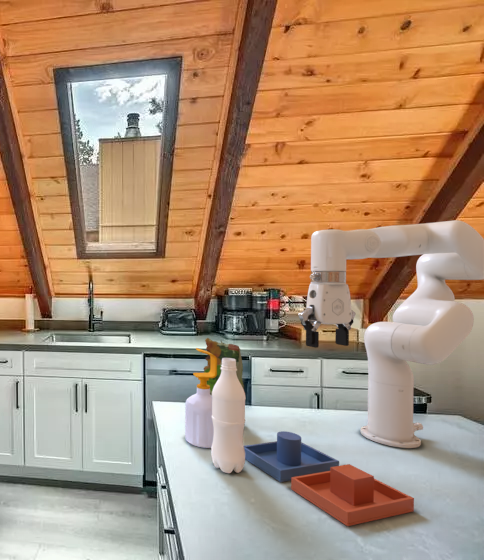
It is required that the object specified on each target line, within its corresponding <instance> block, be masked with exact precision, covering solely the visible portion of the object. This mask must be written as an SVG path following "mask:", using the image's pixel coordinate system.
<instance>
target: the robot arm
mask: <svg viewBox="0 0 484 560" xmlns="http://www.w3.org/2000/svg"><path fill="white" fill-rule="evenodd" d="M310 237H311V238H310V275H309V279H310V283H309V286H308V290H307V296H306V307H305V309H304V310H302V311H300V312H299V313H298V318H299V321H300V324H301V326H302V327H303V330H304V331H305V346H306V347H311V348H315V349H317V348H319V344H320V342H319V341H320V332H319V331H318V329H319V328H320V326H321V324H323V325H335V326H336V328H335V335H334V336H335V339H334V341H335V342H334V343H335V344H336V345H338V346H339V345H340V346H344V347H348V346H350V330H351V329H352V325H353V324H354V320H355V317H356V312H355V311H354V310H352V299H351V291H350V287H349V284H348V283H347V260H364V259H368V258H369V259H370V258H371V259H384V258H387V259H388V258H399V257H400V258H401V257H408V256H409V257H410V256H419V258H418V259H417V261H416V264H415V270H416V281H417V286H416V289H414V292H412V293H411V294H410V295H409V296H408V297H407V298H406V299H405V300H404V301H402V303H400V304H399V306H398V307H397V308H396V309H395V311H394V312H393V314H392V321H377V322H374V323H372V324H370V325H368V326H367V328H366V329H365V331H364V333H363V341H364V347H365V351H366V356H367V369H368V370H367V371H368V373H367V374H368V375H367V376H368V377H367V425H364V426H361V427H360V434H361V435H362V436H363V437H364V438H366V439H368V440H371V441H373V442H375V443H379V444H382V445H385V446H389V447H393V448H401V449H417V448H419V447H420V446H421V445H422V441H421V438H419V437H418V436H416V435H415V432H416V431H422V430H424V426H423V424H422V423H421V422H414V387H415V377H414V373H413V370H412V368H411V366H410V364H409V363H408V362H410V363H411V362H412V363H416V364H422V365H427V366H428V365H430V366H431V365H432V366H433V365H438V364H441V363H442V362H444V361H445V360H446V359H447V358H449V356H450V355H451V354H453V352H454V351H455V350H456V349H457V348H458V347H459V346H460V345H461V344H462V343H463V342H464V341H465V340H466V339H467V337H468V336H469V335H470V333H471V332H472V329H473V326H474V322H475V321H474V320H475V318H474V317H475V316H474V314H473V311H472V310H471V308H470V307H469V306H468V305H466V304H464V303H462V302H459V301H456V299H455V294H454V293H453V291H452V289H451V288H450V287H449V285H447V282H446V281H447V280H450V281H451V280H455V281H456V280H457V281H479V280H480V281H482V280H484V237H483V236H482V235H481V234H480V233H479V232H478V231H477V230H476V229H475V228H474V227H473V226H471V225H470V224H469V223H467V222H465V221H463V220H458V219H456V220H455V219H454V220H447V221H446V220H444V221H436V222H435V221H434V222H426V223H414V224H399V225H397V224H395V225H386V226H378V227H373V228H368V229H367V228H366V229H365V228H364V229H363V228H362V229H350V230H342V229H335V228H334V229H320V230H316V231H314V232H313V233H312V234H311V236H310ZM420 255H421V256H420Z"/></svg>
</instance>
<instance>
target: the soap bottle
mask: <svg viewBox="0 0 484 560" xmlns="http://www.w3.org/2000/svg"><path fill="white" fill-rule="evenodd" d="M195 350H196V351H197V352H199V353H202V354H205V355H207V354H208V355H210V358H211V362H210V372H209V373H204V372H193V373H192V374H193V376H194V377H195V378H196V379H197V380H199V383H197V384H196V393H194V394H192V395H190V396H189V397H187V399H186V400H185V403H184V404H185V407H184V408H185V409H184V410H185V411H184V412H185V415H184V420H185V421H184V433H185V434H184V439H185V441H186V442H187V443H188V444H189V445H192V446H195V447H197V448H204V449H211V447H212V443H213V436H214V427H213V421H212V396H211V395H210V386H209V385H207V381H208V380H209V378H215V377H216V375H217V358H216V356H214V355H213V354H211V353H210V352H208V351H207V350H206V349H201V348H198V347H196V348H195ZM208 355H207V356H208Z"/></svg>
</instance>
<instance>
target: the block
mask: <svg viewBox="0 0 484 560" xmlns="http://www.w3.org/2000/svg"><path fill="white" fill-rule="evenodd" d="M374 479H375V476H374V475H372V474H370V473H369V472H366V471H364V470H362V469H361V468H358V467H356V466H354V465H352V464H350V463H347V464H341V465H339V466H335V467H330V492H332V493H333V494H335V495H337V496H338V497H340V498H342V499H343V500H345V501H347V502H348V503H350V504H352V505H354V506H355V505H360V504H365V503H370V502H373V501H374Z"/></svg>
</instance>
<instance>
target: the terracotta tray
mask: <svg viewBox="0 0 484 560" xmlns="http://www.w3.org/2000/svg"><path fill="white" fill-rule="evenodd" d="M290 481H291V483H290V490H292V491H293V492H295V493H296V494H298V495H299V496H301V497H302V498H303V499H305V500H306V501H309V502H310V503H311V504H313V505H314V506H316V507H317V508H319V509H320V510H322V511H323V512H324V513H327V514H328V515H330V516H331V517H333V518H334V519H335V520H337V521H338V522H340V523H342V524H343V525H345V526H346V527H350V526H355V525H360V524H364V523H368V522H369V523H370V522H373V521H377V520H382V519H386V518H390V517H395V516H399V515H403V514H409V513H412V512H414V511H415V498H414V497H412V496H411V495H409V494H406V493H405V492H402V491H401V490H398V489H396V488H395V487H393V486H390V485H389V484H387V483H384V482H382V481H380V480H379V479H377V478H374V501H373V502H370V503H365V504H360V505H355V506H354V505H352V504H350V503H348V502H347V501H345V500H343V499H342V498H340V497H338V496H337V495H335V494H333V493H332V492H330V471H326V472H320V473H314V474H308V475H303V476H297V477H291V480H290Z"/></svg>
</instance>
